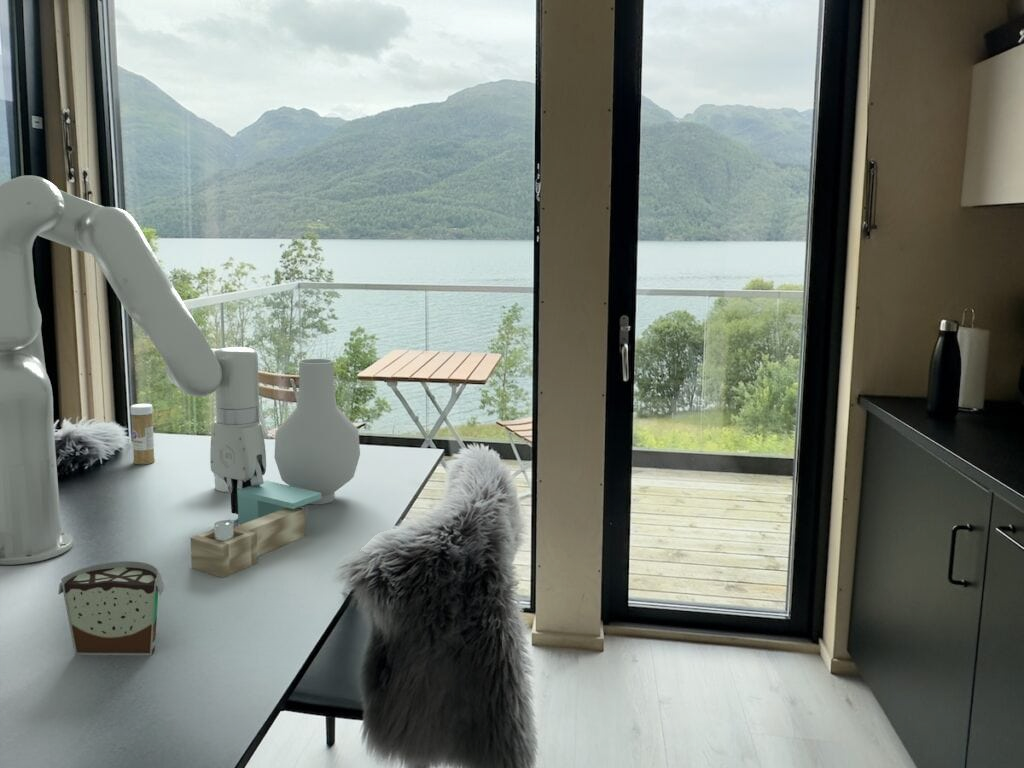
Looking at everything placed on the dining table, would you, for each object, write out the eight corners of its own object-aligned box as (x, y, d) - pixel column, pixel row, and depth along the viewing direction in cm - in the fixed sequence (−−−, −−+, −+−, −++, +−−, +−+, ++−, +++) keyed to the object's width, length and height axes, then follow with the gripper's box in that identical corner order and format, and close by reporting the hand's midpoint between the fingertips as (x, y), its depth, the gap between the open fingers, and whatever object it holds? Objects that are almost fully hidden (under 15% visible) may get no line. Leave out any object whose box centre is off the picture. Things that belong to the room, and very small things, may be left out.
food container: (182, 631, 106) (178, 560, 104) (163, 655, 100) (159, 579, 98) (87, 631, 105) (82, 558, 104) (62, 654, 99) (56, 578, 97)
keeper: (293, 539, 138) (293, 503, 137) (238, 524, 145) (237, 490, 144) (322, 527, 144) (321, 493, 143) (267, 513, 151) (266, 480, 150)
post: (224, 570, 125) (222, 527, 124) (212, 566, 127) (210, 524, 126) (238, 564, 128) (237, 522, 127) (226, 560, 129) (224, 519, 128)
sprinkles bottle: (128, 463, 182) (125, 405, 180) (144, 458, 187) (141, 402, 184) (144, 466, 181) (141, 407, 179) (159, 461, 185) (156, 404, 183)
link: (222, 577, 123) (221, 546, 122) (191, 567, 126) (190, 537, 125) (314, 538, 140) (313, 510, 139) (284, 530, 143) (283, 503, 142)
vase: (374, 491, 167) (373, 358, 162) (336, 516, 151) (334, 370, 146) (302, 483, 171) (299, 353, 166) (258, 507, 155) (254, 364, 151)
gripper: (192, 413, 146) (196, 510, 149) (251, 424, 139) (254, 525, 142) (225, 407, 153) (228, 499, 156) (283, 416, 146) (285, 513, 149)
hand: (241, 511), depth 149 cm, fingers closed
